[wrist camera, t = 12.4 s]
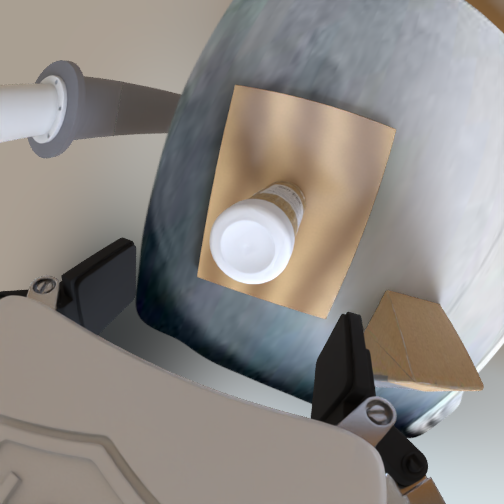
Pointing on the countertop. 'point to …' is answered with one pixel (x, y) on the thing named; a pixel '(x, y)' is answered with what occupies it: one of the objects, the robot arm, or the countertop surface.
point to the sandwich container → (417, 347)
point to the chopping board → (308, 180)
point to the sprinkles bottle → (258, 233)
